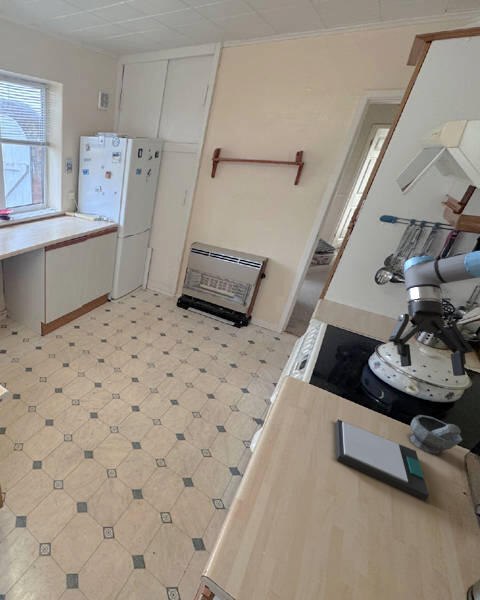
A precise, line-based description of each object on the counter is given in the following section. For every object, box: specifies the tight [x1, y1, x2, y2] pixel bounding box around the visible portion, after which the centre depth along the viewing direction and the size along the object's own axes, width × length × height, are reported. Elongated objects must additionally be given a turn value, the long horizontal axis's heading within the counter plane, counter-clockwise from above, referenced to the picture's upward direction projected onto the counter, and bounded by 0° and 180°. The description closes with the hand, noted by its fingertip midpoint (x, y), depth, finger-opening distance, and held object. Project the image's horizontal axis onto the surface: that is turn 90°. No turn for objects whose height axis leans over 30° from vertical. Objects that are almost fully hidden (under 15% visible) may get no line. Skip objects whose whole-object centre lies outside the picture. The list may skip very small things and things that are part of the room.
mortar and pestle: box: [410, 414, 463, 455], centre depth 91 cm, size 11×9×12 cm
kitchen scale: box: [334, 419, 430, 502], centre depth 88 cm, size 18×16×3 cm
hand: (432, 370), depth 95 cm, fingers open, 13 cm apart
